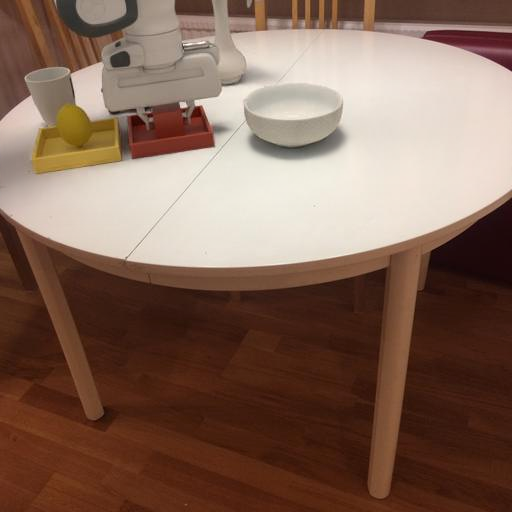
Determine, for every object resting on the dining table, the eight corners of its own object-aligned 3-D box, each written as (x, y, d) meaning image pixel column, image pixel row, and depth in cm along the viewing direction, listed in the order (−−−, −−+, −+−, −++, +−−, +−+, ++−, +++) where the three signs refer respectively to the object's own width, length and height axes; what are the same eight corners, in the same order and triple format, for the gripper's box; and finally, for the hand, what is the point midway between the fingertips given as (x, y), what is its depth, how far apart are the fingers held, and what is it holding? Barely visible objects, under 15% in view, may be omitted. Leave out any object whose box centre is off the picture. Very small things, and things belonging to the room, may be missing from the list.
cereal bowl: (328, 165, 83) (329, 123, 79) (231, 154, 88) (227, 114, 84) (350, 122, 96) (353, 84, 91) (265, 115, 101) (263, 78, 97)
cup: (89, 126, 102) (75, 74, 96) (48, 138, 98) (31, 85, 92) (75, 113, 107) (61, 64, 101) (36, 124, 104) (19, 74, 98)
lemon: (70, 141, 95) (57, 98, 90) (99, 140, 95) (88, 96, 90) (60, 155, 91) (46, 110, 86) (91, 154, 90) (79, 109, 86)
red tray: (132, 159, 89) (129, 145, 88) (130, 128, 100) (127, 115, 98) (214, 146, 91) (213, 132, 90) (203, 117, 102) (202, 104, 100)
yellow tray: (35, 174, 87) (30, 159, 85) (43, 141, 97) (38, 128, 96) (121, 160, 89) (118, 146, 87) (120, 130, 99) (117, 116, 98)
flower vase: (258, 93, 110) (250, -42, 95) (180, 86, 116) (161, -42, 101) (278, 72, 120) (274, -53, 104) (206, 67, 126) (192, -53, 110)
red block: (157, 141, 93) (152, 114, 90) (155, 130, 97) (150, 104, 94) (185, 137, 93) (181, 110, 90) (182, 126, 97) (178, 100, 94)
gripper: (214, 34, 90) (222, 111, 98) (93, 49, 87) (112, 127, 95) (221, 44, 85) (228, 124, 93) (92, 60, 82) (112, 142, 90)
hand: (169, 126), depth 94 cm, fingers closed on red block, 5 cm apart
